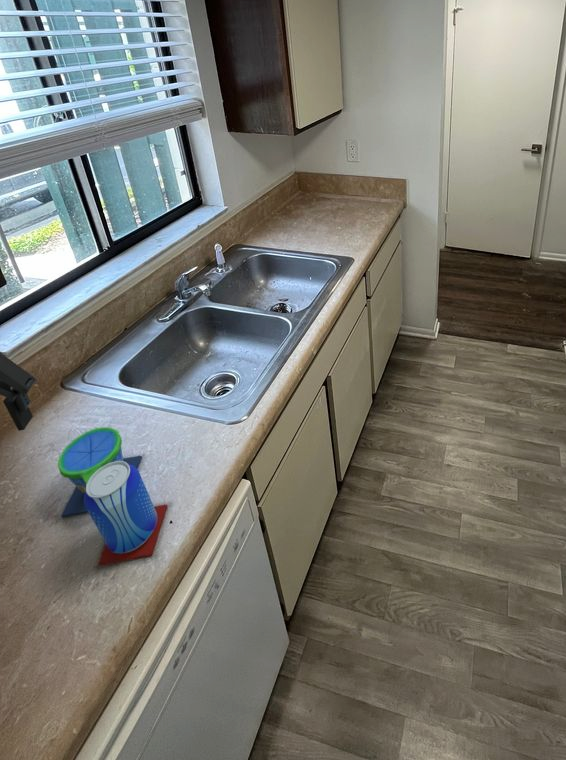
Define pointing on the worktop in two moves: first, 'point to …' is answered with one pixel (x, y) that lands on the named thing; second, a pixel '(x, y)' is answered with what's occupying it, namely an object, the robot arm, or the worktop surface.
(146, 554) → the red mat
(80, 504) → the blue mat
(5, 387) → the robot arm
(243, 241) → the worktop surface
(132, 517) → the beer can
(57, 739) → the worktop surface
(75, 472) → the snack cup
